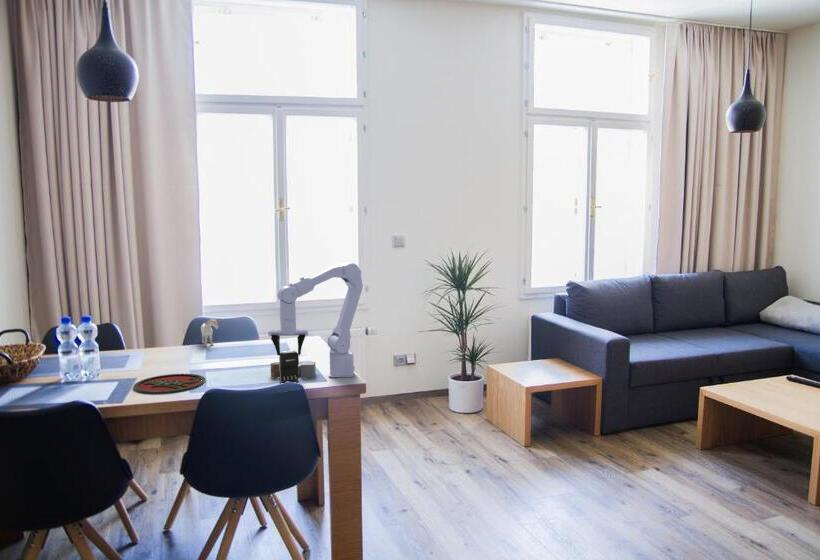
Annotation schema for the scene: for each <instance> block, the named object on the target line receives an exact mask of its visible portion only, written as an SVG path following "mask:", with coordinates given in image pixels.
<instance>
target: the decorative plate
mask: <svg viewBox="0 0 820 560" xmlns="http://www.w3.org/2000/svg"><path fill="white" fill-rule="evenodd" d="M201 380H202V381H201ZM206 380H207V379H206V377H204V376H203V375H200V374H195V373H194V374H193V373H171V374H168V373H167V374H162V375H161V374H160V375H156V376H152V377H147V378H144V379H141V380H139V381H137V382H135V383H134V385H133V390H134V391H135V392H136V393H140V394H145V395H166V394H168V395H169V393H170V394H176V393H182V392H183V393H184V392H187V391H191V389H192V390H194V388H195V389H197V387H198V388H200V387H202V386H204V385H205V384H206ZM204 383H205V384H204ZM203 384H204V385H203ZM201 385H202V386H201ZM199 386H200V387H199Z"/></svg>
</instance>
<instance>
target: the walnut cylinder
mask: <svg viewBox="0 0 820 560" xmlns="http://www.w3.org/2000/svg"><path fill="white" fill-rule="evenodd" d="M270 377H271V378H272V377H274V378H273V379H280V378H279V377H280V366H279V361H276V362H275V361H274V362H270Z"/></svg>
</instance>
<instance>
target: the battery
mask: <svg viewBox="0 0 820 560" xmlns="http://www.w3.org/2000/svg"><path fill="white" fill-rule="evenodd" d="M299 356H300V355H298V351H296V350H286V351H285V350H284V351H280V355H278V362H279V366H280V378H279V379H280V380H279V381H280V382H282V383H287V382H286V381H292V382H298V381H299V376H298V365H299V364H300V358H299Z"/></svg>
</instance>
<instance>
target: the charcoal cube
mask: <svg viewBox="0 0 820 560" xmlns="http://www.w3.org/2000/svg"><path fill="white" fill-rule="evenodd" d="M300 364H301V376H300V377H301V378H315V377H314V376H316V373H317V371H316V361H302V362H301V363H300Z"/></svg>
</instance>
